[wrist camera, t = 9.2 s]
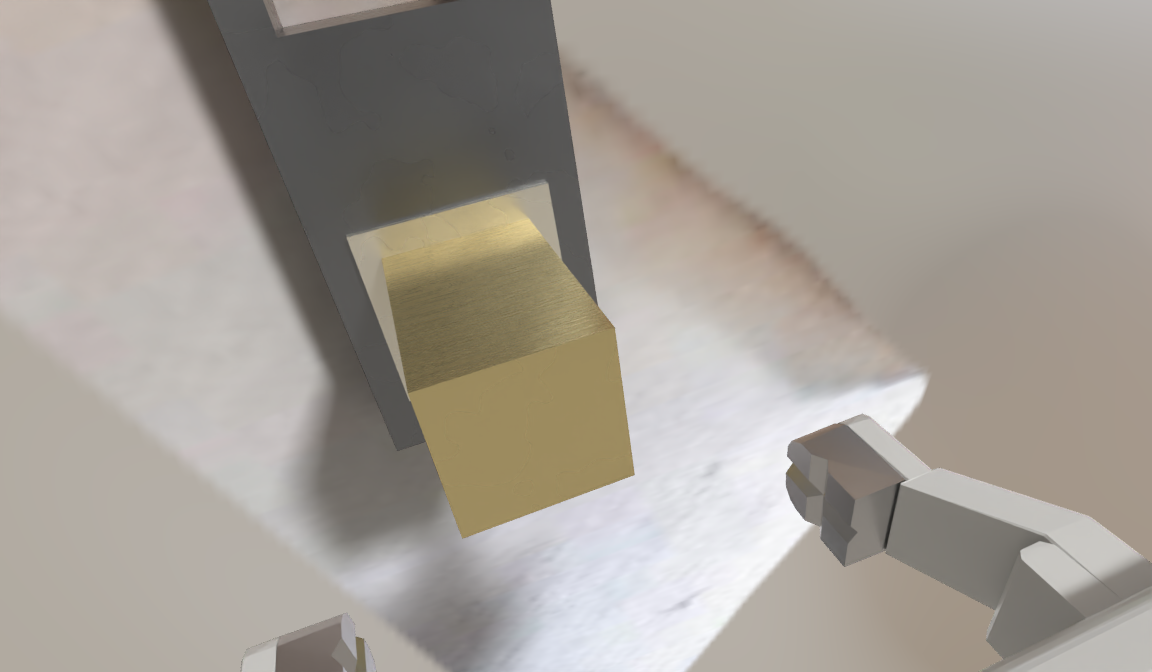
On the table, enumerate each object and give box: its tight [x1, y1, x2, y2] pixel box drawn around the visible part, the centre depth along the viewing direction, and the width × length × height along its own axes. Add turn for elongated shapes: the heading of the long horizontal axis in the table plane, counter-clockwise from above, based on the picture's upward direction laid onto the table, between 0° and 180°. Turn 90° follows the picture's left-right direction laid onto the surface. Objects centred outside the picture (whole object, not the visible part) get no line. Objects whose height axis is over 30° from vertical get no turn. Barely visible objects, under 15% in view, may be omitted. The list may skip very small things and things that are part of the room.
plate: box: [207, 0, 598, 451], centre depth 18 cm, size 22×8×3 cm, turn 10°
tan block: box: [382, 218, 635, 539], centre depth 17 cm, size 4×4×7 cm
